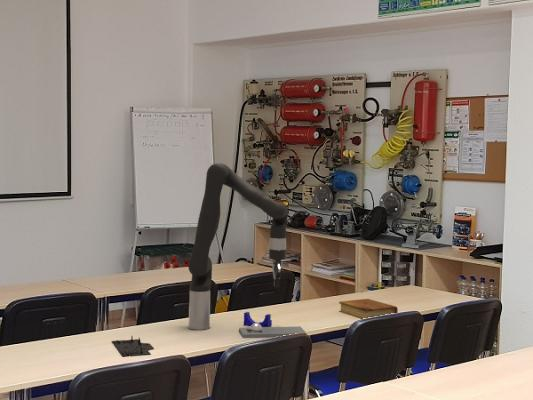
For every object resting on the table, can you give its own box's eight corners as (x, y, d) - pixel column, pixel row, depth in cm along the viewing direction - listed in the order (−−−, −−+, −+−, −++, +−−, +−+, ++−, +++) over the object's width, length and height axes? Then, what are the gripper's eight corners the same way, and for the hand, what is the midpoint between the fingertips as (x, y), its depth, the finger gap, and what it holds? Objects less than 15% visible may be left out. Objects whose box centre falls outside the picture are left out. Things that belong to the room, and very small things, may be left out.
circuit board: (111, 342, 348) (111, 335, 348) (145, 340, 353) (145, 333, 353) (122, 358, 325) (122, 350, 325) (158, 355, 330) (158, 347, 330)
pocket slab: (242, 337, 359) (242, 334, 359) (238, 330, 371) (238, 327, 371) (306, 336, 363) (306, 333, 363) (300, 329, 376) (300, 326, 376)
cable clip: (271, 326, 382) (271, 313, 381) (268, 328, 378) (268, 315, 377) (247, 323, 386) (247, 311, 386) (243, 326, 382) (243, 313, 382)
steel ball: (250, 325, 363) (262, 323, 364) (249, 322, 368) (260, 320, 368) (252, 336, 363) (263, 334, 364) (250, 333, 368) (261, 331, 369)
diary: (397, 318, 406) (397, 306, 406) (366, 321, 397) (366, 309, 397) (368, 309, 426) (369, 298, 426) (338, 312, 417) (339, 301, 416)
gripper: (266, 245, 371) (265, 284, 372) (271, 250, 358) (270, 289, 359) (283, 246, 372) (282, 284, 373) (288, 250, 359) (287, 289, 360)
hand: (276, 287), depth 366 cm, fingers closed
